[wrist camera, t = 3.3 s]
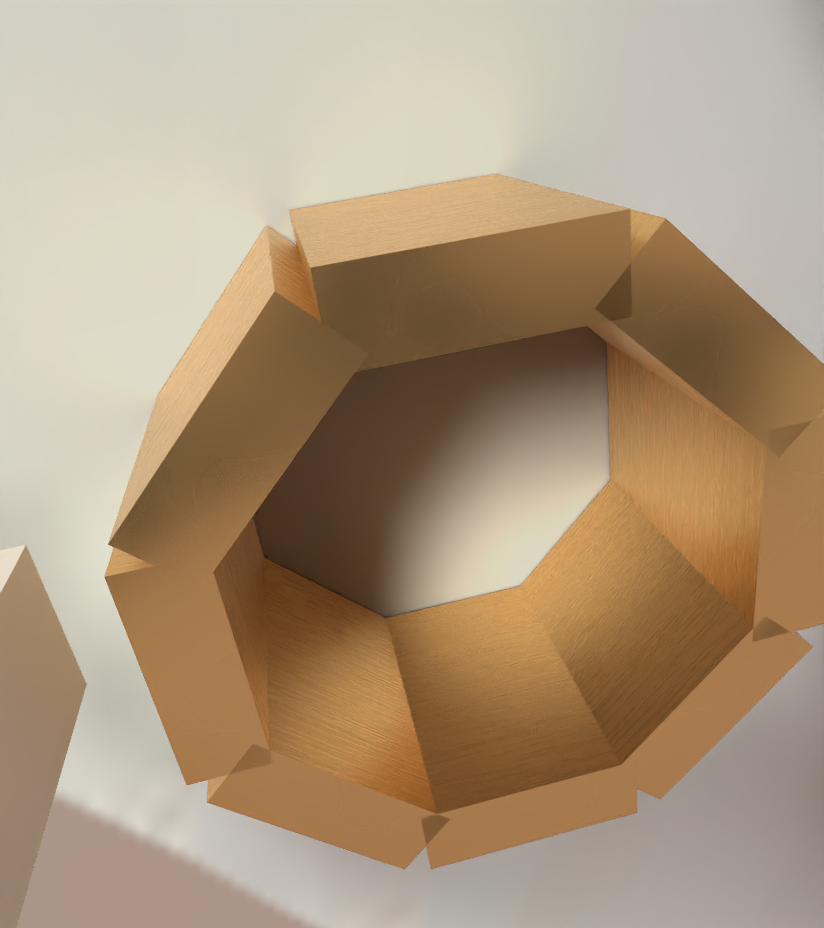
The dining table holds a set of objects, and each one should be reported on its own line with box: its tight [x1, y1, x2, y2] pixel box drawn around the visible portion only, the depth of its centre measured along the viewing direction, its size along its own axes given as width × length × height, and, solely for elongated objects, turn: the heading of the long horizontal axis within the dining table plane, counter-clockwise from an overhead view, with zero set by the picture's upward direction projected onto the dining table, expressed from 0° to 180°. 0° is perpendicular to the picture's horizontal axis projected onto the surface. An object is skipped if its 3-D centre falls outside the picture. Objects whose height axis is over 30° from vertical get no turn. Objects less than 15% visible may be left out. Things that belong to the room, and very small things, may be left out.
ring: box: [105, 174, 824, 869], centre depth 12 cm, size 10×10×5 cm
